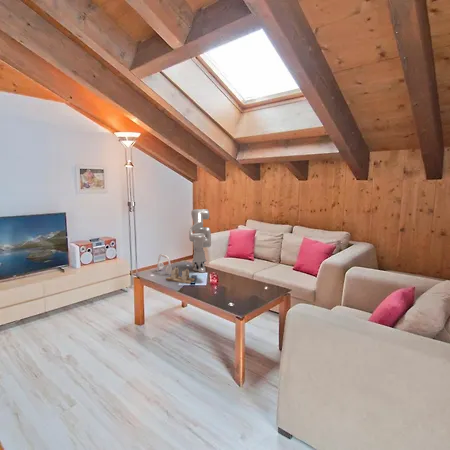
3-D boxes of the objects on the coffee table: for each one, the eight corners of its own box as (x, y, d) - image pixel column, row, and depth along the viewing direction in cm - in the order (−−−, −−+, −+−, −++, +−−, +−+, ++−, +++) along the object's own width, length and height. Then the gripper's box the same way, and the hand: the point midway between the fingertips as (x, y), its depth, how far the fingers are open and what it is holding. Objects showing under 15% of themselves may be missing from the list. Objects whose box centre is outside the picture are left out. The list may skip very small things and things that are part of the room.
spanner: (193, 265, 303) (193, 262, 302) (199, 265, 304) (199, 262, 304) (199, 273, 283) (199, 270, 282) (206, 272, 284) (206, 269, 284)
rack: (172, 276, 300) (171, 264, 298) (195, 280, 290) (194, 267, 288) (165, 280, 291) (165, 267, 289) (189, 283, 281) (188, 270, 279)
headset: (173, 274, 308) (172, 255, 305) (166, 275, 303) (166, 257, 300) (162, 269, 323) (161, 252, 320) (155, 271, 318) (155, 253, 315)
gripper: (191, 251, 283) (191, 271, 287) (209, 249, 289) (209, 269, 293) (189, 248, 290) (189, 268, 294) (206, 247, 296) (206, 266, 300)
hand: (199, 268), depth 293 cm, fingers closed on spanner, 3 cm apart
